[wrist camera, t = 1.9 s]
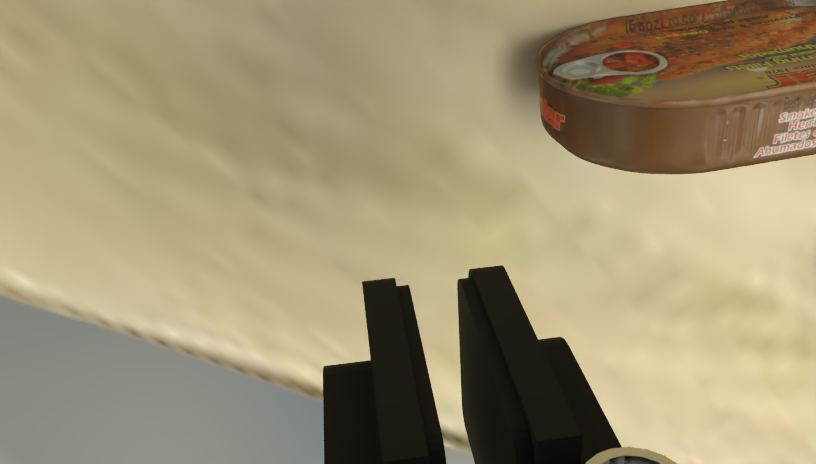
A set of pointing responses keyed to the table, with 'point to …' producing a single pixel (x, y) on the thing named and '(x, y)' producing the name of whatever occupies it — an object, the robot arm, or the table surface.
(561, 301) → the table surface
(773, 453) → the table surface
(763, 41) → the tin
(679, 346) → the table surface
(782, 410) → the table surface
